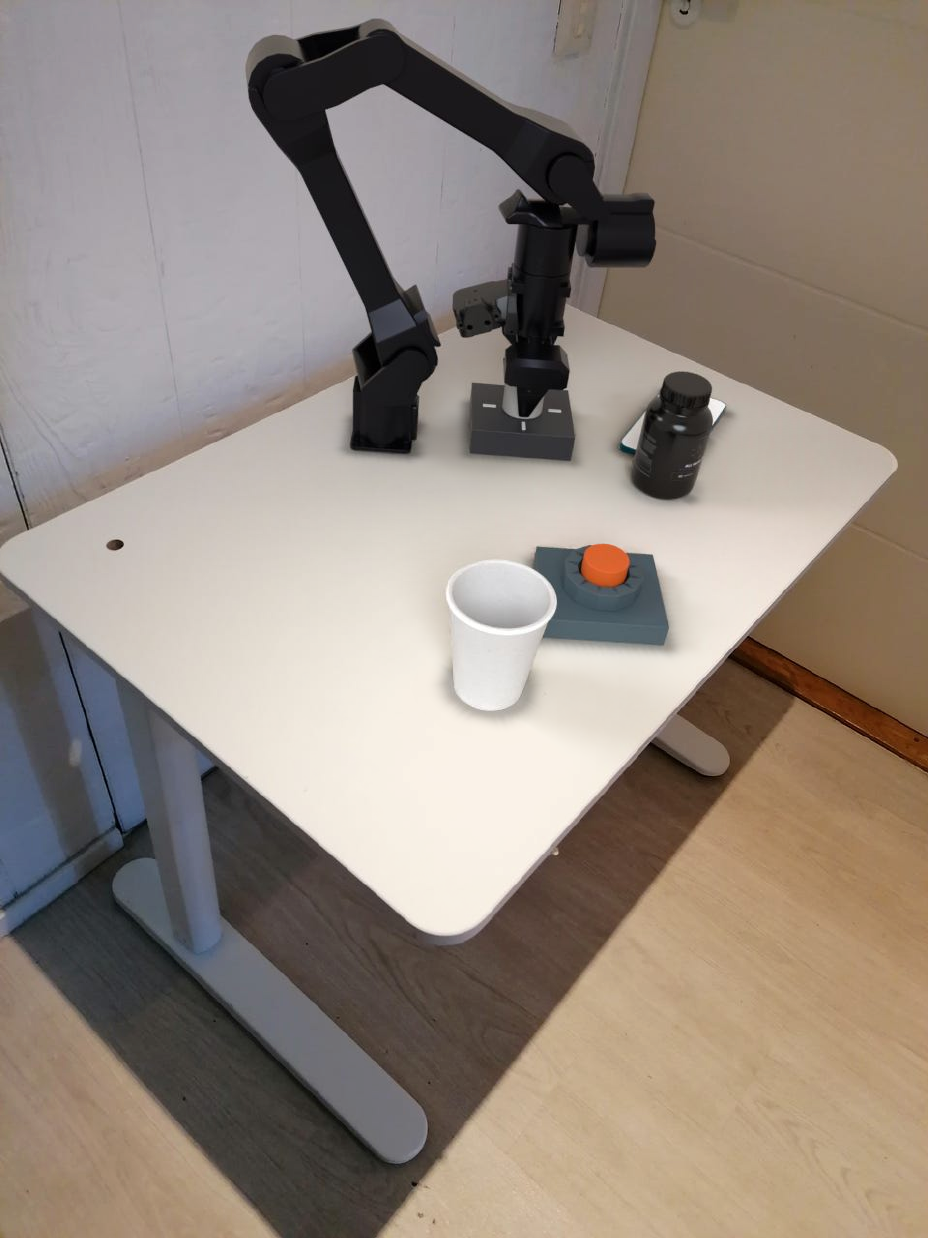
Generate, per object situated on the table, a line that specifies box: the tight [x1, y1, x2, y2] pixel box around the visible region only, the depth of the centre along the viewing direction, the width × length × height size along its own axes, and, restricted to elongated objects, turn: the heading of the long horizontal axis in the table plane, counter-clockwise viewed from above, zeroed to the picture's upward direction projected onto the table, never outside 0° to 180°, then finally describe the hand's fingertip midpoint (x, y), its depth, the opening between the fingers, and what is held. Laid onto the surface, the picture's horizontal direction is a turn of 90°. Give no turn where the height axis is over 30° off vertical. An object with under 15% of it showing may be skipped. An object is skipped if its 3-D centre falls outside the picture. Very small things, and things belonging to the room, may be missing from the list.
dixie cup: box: [445, 558, 557, 712], centre depth 76 cm, size 8×8×10 cm
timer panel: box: [469, 382, 576, 462], centre depth 107 cm, size 11×10×3 cm
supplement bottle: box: [630, 370, 713, 501], centre depth 99 cm, size 7×7×12 cm
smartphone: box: [619, 393, 727, 457], centre depth 111 cm, size 8×1×16 cm
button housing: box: [532, 544, 670, 646], centre depth 87 cm, size 11×10×4 cm
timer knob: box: [502, 383, 544, 419], centre depth 105 cm, size 4×4×4 cm
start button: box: [581, 543, 630, 587], centre depth 85 cm, size 4×4×2 cm
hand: (522, 405), depth 106 cm, fingers closed on timer knob, 4 cm apart
